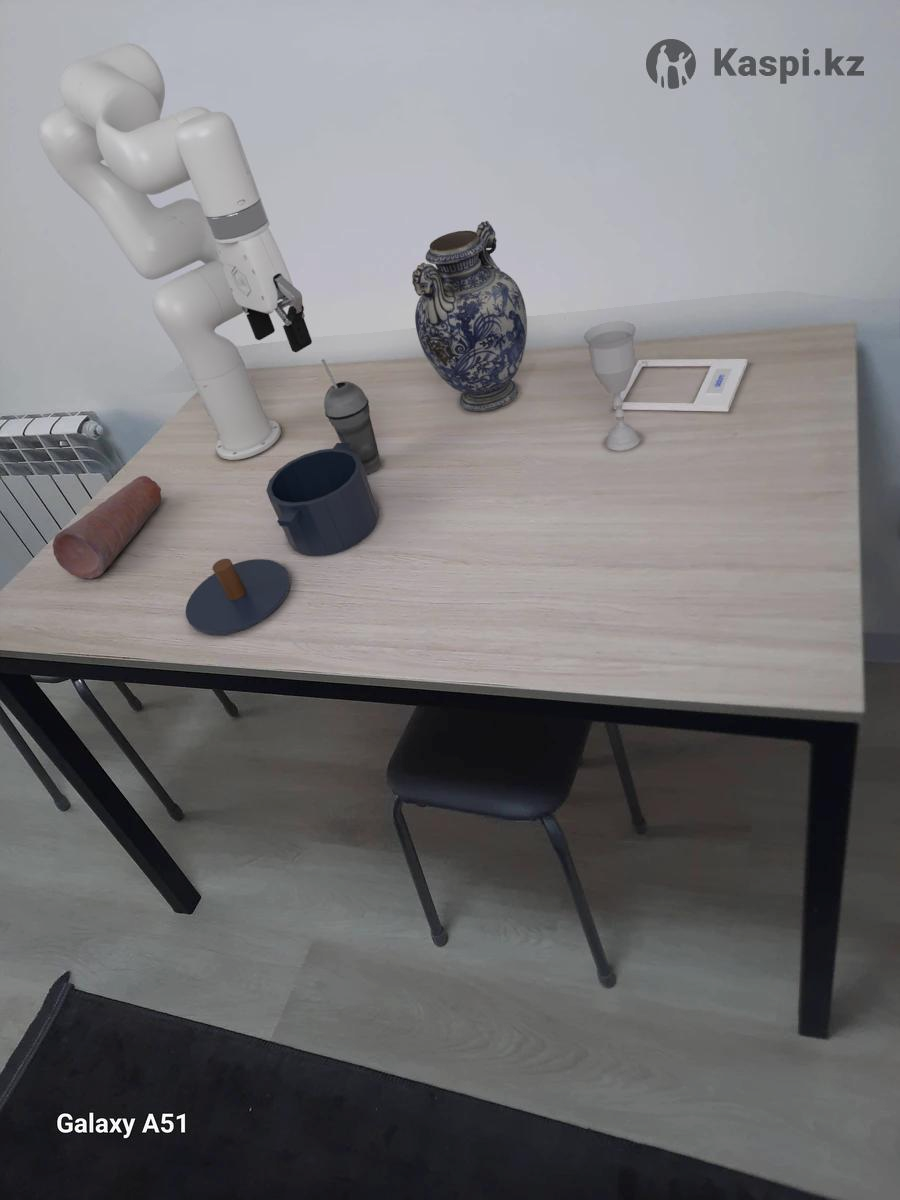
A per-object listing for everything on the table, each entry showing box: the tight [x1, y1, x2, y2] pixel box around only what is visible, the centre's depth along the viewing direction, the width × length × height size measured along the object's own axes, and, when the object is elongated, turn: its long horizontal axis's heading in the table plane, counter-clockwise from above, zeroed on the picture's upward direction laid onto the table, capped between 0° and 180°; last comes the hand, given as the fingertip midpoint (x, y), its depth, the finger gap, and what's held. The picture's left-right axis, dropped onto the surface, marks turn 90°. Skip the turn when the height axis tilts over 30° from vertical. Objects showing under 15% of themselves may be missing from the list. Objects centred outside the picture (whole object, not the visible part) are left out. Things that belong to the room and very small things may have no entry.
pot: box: [265, 442, 380, 557], centre depth 130 cm, size 15×20×10 cm
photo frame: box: [613, 358, 748, 413], centre depth 139 cm, size 15×1×18 cm
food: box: [52, 475, 162, 580], centre depth 143 cm, size 21×9×9 cm, turn 165°
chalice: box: [583, 320, 641, 452], centre depth 126 cm, size 7×7×18 cm
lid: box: [185, 558, 291, 636], centre depth 123 cm, size 16×16×7 cm
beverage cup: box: [321, 358, 382, 475], centre depth 138 cm, size 7×7×20 cm
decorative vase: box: [411, 220, 528, 413], centre depth 144 cm, size 21×19×28 cm
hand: (283, 341), depth 123 cm, fingers open, 9 cm apart
